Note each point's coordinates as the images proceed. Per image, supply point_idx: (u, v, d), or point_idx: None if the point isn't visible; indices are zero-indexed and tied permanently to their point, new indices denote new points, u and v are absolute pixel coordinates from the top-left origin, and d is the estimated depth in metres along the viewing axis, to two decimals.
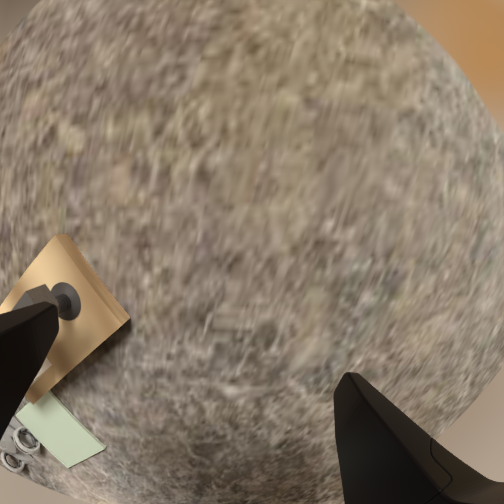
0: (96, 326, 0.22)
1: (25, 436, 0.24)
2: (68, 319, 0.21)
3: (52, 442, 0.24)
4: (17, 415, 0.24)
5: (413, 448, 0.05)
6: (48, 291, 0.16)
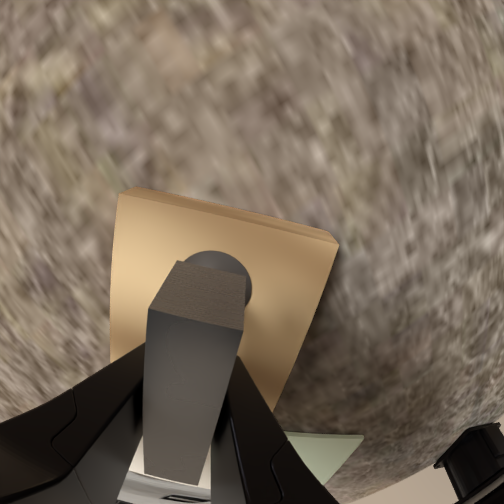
0: (295, 281, 0.12)
1: None
2: None
3: None
4: None
5: (248, 447, 0.05)
6: (199, 270, 0.07)
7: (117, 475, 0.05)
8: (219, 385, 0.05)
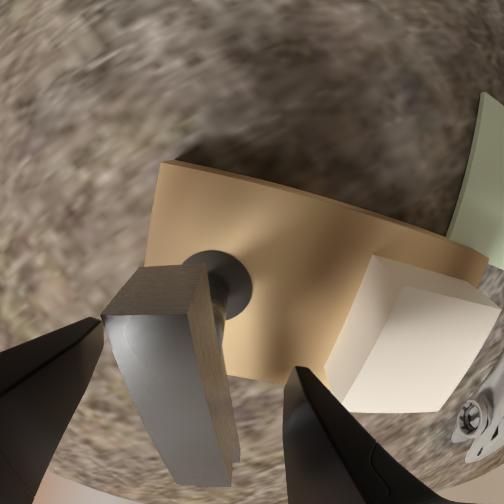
0: (203, 205, 0.11)
1: None
2: (237, 264, 0.12)
3: None
4: None
5: (349, 452, 0.05)
6: (158, 270, 0.07)
7: (41, 443, 0.05)
8: (192, 376, 0.05)
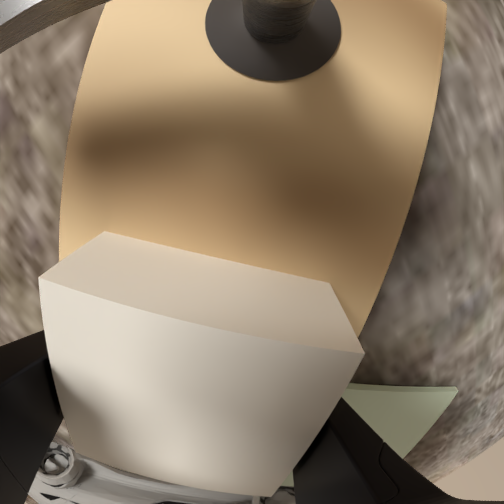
0: (404, 32, 0.06)
1: (273, 497, 0.14)
2: (320, 60, 0.06)
3: None
4: None
5: (358, 452, 0.05)
6: None
7: (34, 440, 0.05)
8: None
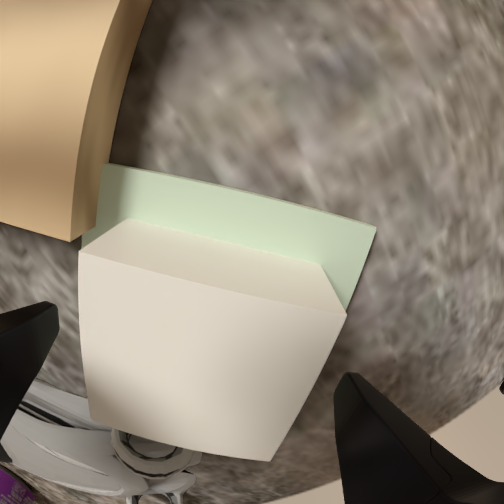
0: None
1: None
2: None
3: None
4: None
5: (413, 448, 0.05)
6: None
7: None
8: None
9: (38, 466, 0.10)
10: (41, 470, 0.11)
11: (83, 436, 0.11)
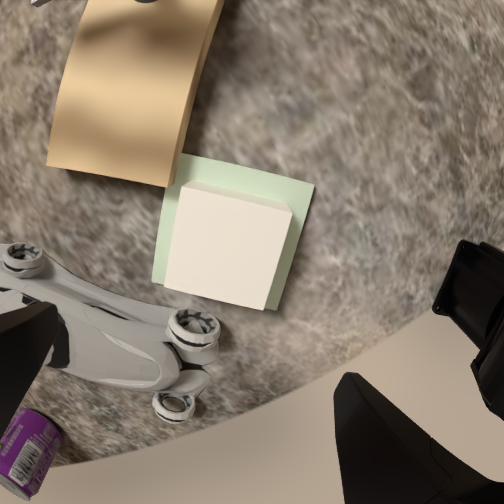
0: None
1: (187, 327, 0.22)
2: None
3: None
4: (154, 277, 0.21)
5: (413, 448, 0.05)
6: None
7: None
8: None
9: (95, 361, 0.20)
10: (96, 366, 0.20)
11: (145, 327, 0.20)
